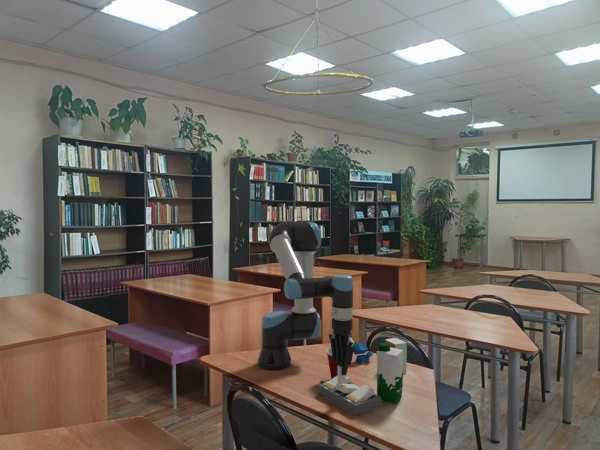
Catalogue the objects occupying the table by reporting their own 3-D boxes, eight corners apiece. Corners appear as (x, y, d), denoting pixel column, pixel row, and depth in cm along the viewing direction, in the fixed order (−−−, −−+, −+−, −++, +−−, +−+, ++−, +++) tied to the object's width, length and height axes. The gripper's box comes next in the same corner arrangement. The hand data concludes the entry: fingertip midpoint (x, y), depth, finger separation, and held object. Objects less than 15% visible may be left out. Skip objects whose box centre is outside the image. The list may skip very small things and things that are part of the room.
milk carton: (382, 391, 162) (382, 340, 162) (405, 397, 157) (405, 344, 157) (373, 399, 155) (374, 346, 154) (397, 405, 150) (398, 350, 149)
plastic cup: (350, 386, 167) (351, 356, 166) (323, 384, 169) (324, 354, 168) (353, 376, 177) (353, 348, 177) (327, 374, 179) (327, 346, 179)
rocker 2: (335, 388, 154) (336, 382, 154) (353, 389, 159) (354, 383, 159) (344, 392, 150) (345, 387, 150) (362, 393, 155) (363, 388, 155)
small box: (383, 368, 187) (384, 339, 187) (395, 366, 190) (396, 337, 189) (394, 374, 180) (395, 344, 179) (406, 372, 182) (407, 342, 182)
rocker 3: (346, 401, 148) (345, 396, 148) (365, 388, 153) (364, 384, 153) (356, 406, 144) (355, 401, 144) (374, 393, 149) (373, 388, 149)
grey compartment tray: (309, 388, 164) (309, 379, 164) (333, 381, 171) (333, 372, 171) (355, 415, 142) (355, 405, 142) (380, 406, 149) (381, 396, 149)
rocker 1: (324, 388, 159) (323, 383, 159) (342, 377, 164) (341, 372, 164) (332, 392, 155) (331, 388, 155) (350, 381, 160) (349, 377, 160)
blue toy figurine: (377, 346, 196) (360, 345, 189) (374, 365, 195) (357, 364, 188) (365, 342, 202) (348, 341, 194) (362, 360, 201) (345, 360, 193)
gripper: (323, 315, 155) (322, 379, 155) (346, 323, 144) (345, 391, 145) (338, 313, 159) (338, 375, 160) (362, 320, 148) (361, 386, 149)
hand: (341, 382), depth 152 cm, fingers closed
